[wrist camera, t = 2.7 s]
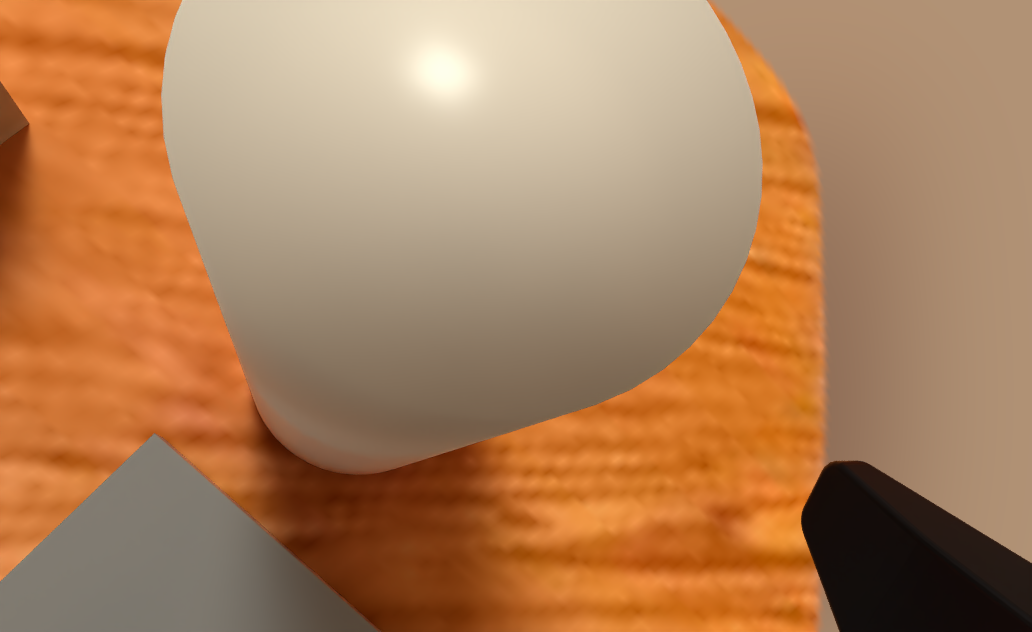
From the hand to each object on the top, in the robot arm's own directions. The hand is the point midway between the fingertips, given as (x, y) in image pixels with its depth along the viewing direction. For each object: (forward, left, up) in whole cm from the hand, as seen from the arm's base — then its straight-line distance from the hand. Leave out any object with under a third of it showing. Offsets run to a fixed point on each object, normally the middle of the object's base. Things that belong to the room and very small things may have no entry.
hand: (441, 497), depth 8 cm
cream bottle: (+2, -2, -10) cm, 10 cm away
